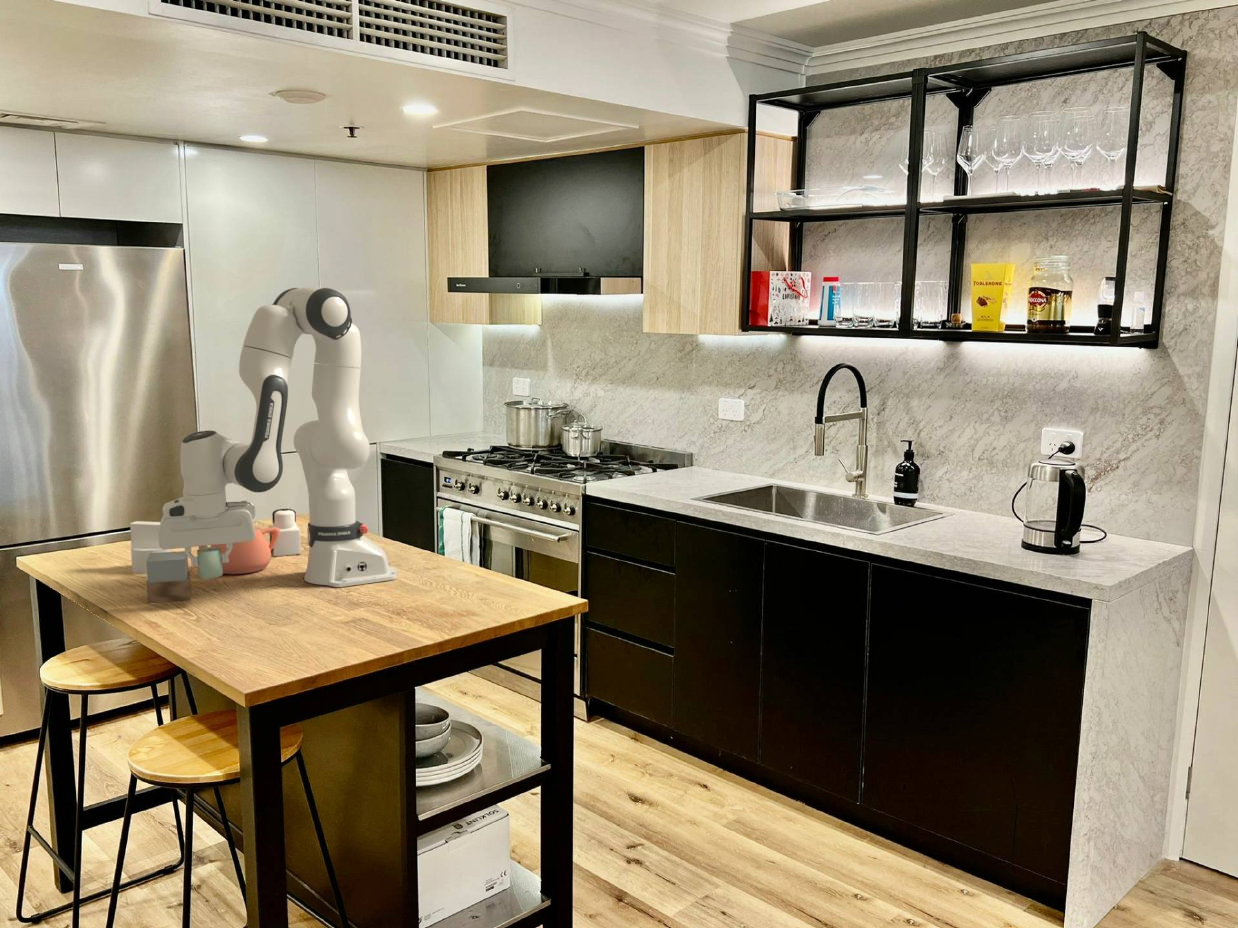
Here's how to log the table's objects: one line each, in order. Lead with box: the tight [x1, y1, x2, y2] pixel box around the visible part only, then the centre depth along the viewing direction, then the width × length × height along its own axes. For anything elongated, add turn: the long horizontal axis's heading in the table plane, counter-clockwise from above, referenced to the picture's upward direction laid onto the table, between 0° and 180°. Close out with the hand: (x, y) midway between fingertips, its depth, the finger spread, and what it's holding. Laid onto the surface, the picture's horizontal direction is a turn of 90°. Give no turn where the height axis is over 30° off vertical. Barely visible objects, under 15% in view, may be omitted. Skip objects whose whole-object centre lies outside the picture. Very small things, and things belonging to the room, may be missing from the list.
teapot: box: [198, 526, 280, 575], centre depth 261 cm, size 22×15×12 cm
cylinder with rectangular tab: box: [129, 520, 171, 575], centre depth 260 cm, size 9×9×12 cm
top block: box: [146, 550, 189, 583], centre depth 236 cm, size 8×8×5 cm
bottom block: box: [145, 570, 192, 605], centre depth 237 cm, size 9×9×5 cm
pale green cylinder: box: [196, 546, 223, 579], centre depth 232 cm, size 5×5×6 cm
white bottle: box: [268, 508, 302, 557], centre depth 279 cm, size 7×7×12 cm
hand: (210, 563), depth 232 cm, fingers closed on pale green cylinder, 5 cm apart
